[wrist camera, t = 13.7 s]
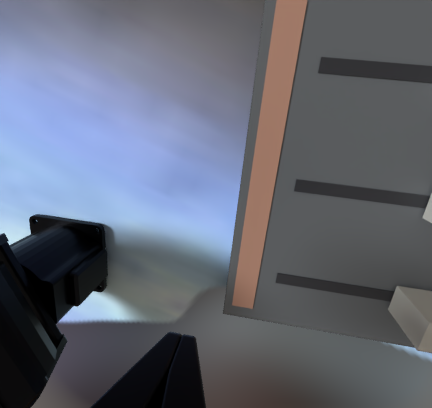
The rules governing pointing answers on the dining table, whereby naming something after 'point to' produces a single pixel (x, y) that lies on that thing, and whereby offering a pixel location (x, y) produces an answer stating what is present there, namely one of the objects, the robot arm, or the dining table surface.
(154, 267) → the dining table surface
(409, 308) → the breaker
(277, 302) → the switch panel
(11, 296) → the robot arm
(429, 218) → the breaker middle
